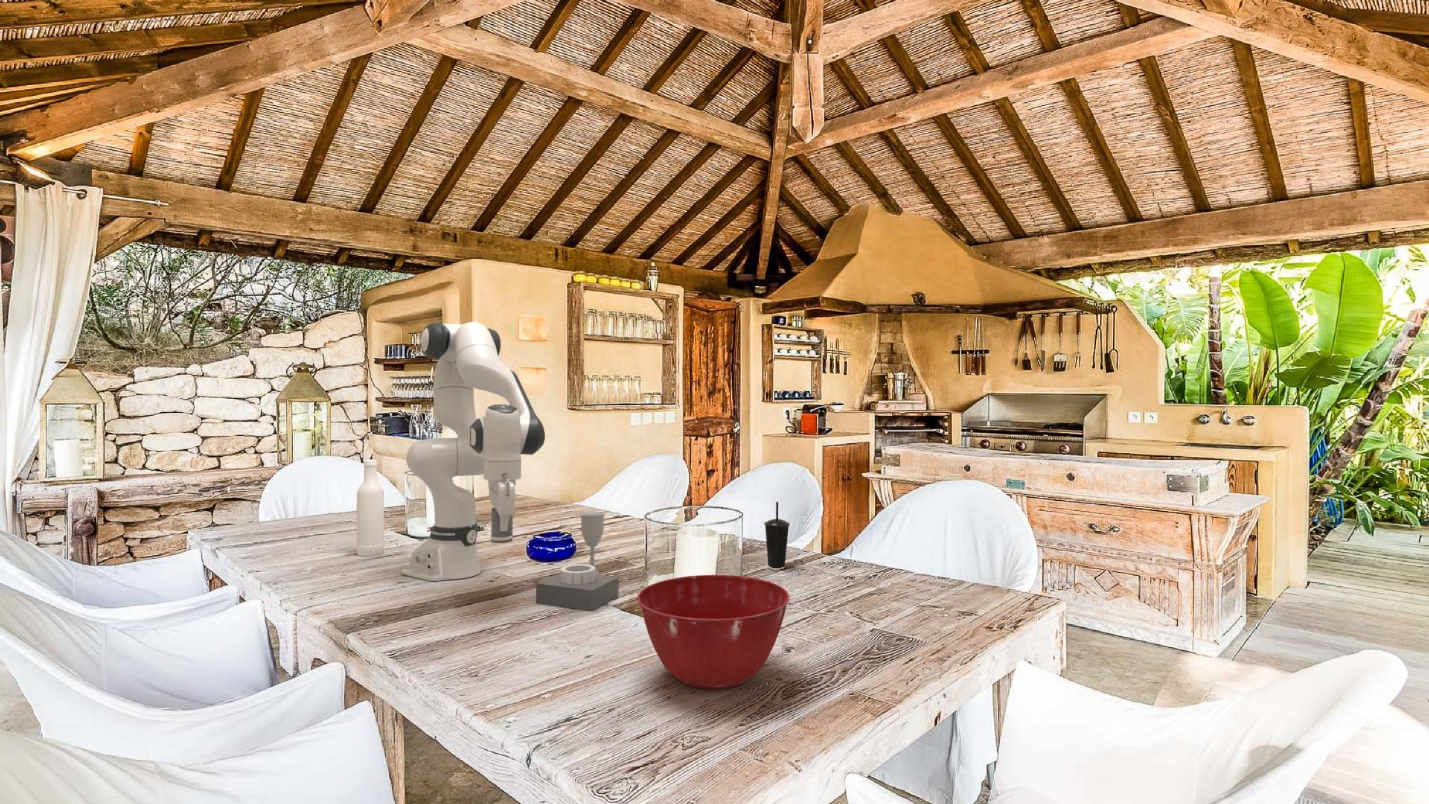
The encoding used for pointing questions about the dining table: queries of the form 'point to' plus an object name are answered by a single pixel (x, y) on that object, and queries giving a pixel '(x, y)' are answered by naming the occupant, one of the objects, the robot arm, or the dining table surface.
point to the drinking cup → (776, 541)
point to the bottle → (370, 513)
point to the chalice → (592, 531)
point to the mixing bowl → (713, 626)
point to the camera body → (577, 588)
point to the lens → (496, 533)
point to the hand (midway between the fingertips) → (502, 527)
